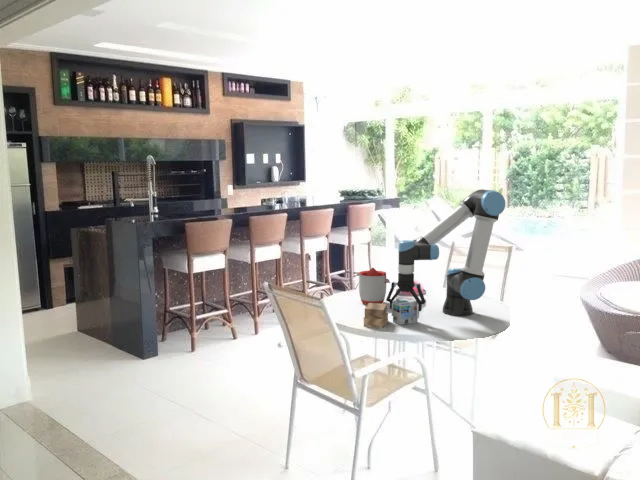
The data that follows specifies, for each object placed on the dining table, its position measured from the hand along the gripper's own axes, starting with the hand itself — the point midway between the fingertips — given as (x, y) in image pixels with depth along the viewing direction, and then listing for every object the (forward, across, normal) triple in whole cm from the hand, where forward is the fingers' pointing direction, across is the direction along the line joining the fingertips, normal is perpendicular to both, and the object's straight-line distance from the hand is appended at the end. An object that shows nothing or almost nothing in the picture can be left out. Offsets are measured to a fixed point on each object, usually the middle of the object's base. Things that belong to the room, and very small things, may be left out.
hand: (405, 316), depth 285 cm
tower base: (+3, +13, +7) cm, 15 cm away
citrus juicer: (+3, +24, -33) cm, 41 cm away
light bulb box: (+3, 0, 0) cm, 3 cm away
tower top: (-1, +13, +7) cm, 15 cm away
